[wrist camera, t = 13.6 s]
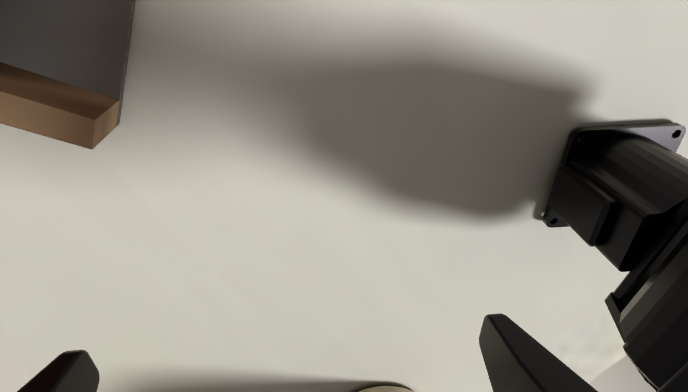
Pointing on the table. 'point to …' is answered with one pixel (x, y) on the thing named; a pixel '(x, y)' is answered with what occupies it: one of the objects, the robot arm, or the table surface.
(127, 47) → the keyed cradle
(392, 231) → the table surface
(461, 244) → the table surface
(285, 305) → the table surface
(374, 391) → the travel mug
